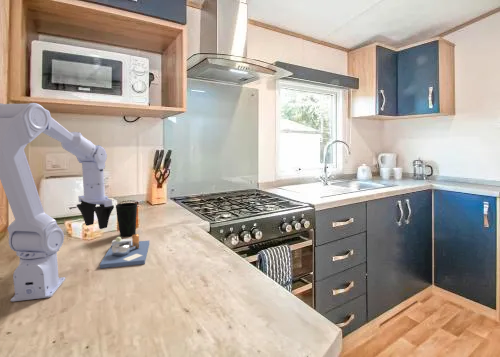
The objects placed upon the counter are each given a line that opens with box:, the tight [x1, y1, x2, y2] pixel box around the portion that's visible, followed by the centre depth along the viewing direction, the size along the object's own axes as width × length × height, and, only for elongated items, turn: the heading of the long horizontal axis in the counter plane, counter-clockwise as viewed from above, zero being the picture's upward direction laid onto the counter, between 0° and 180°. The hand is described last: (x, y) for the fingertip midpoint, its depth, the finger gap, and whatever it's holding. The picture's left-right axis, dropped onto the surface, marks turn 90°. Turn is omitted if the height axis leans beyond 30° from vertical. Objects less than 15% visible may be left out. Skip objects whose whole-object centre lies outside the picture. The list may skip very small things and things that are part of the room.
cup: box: [115, 202, 138, 238], centre depth 111 cm, size 8×8×12 cm
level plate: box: [99, 236, 150, 269], centre depth 91 cm, size 18×12×4 cm, turn 15°
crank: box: [112, 233, 140, 256], centre depth 90 cm, size 9×5×4 cm, turn 150°
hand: (96, 226), depth 90 cm, fingers open, 7 cm apart
